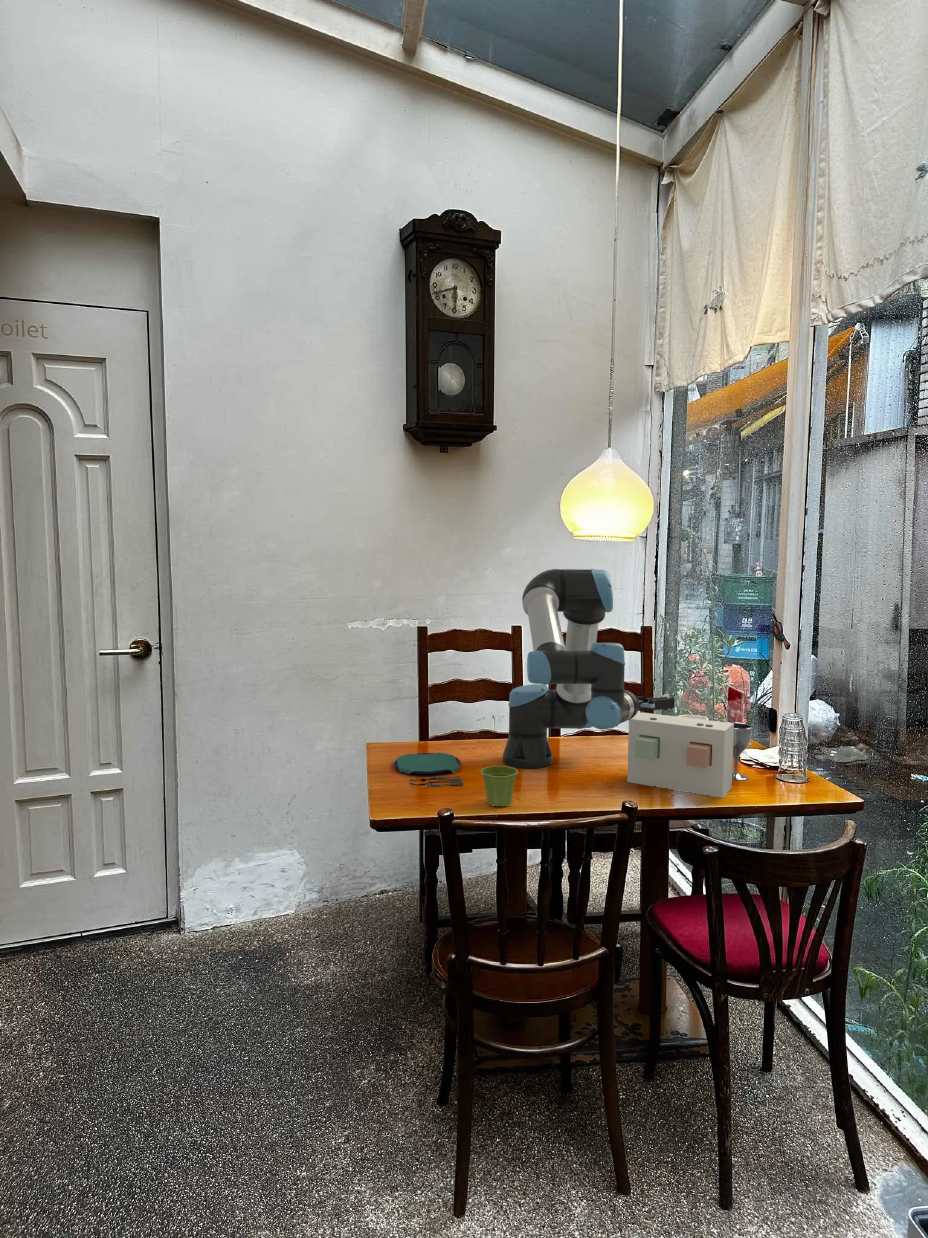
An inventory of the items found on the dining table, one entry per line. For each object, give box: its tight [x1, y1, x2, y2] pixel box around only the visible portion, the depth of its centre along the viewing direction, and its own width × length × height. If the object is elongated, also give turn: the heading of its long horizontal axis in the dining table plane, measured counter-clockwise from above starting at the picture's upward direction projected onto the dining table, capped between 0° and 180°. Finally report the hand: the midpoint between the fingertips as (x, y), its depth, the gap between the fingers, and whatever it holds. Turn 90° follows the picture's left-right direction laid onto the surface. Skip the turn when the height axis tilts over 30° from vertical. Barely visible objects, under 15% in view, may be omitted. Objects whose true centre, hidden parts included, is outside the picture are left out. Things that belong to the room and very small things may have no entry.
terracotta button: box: [687, 742, 712, 768], centre depth 205 cm, size 6×5×5 cm
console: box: [626, 711, 734, 799], centre depth 214 cm, size 10×26×18 cm, turn 58°
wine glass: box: [727, 721, 753, 782], centre depth 223 cm, size 8×8×15 cm
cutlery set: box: [393, 752, 464, 788], centre depth 227 cm, size 20×30×2 cm, turn 8°
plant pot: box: [480, 765, 519, 807], centre depth 199 cm, size 9×9×9 cm
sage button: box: [635, 735, 660, 760], centre depth 213 cm, size 6×5×5 cm
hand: (642, 697), depth 206 cm, fingers open, 13 cm apart
